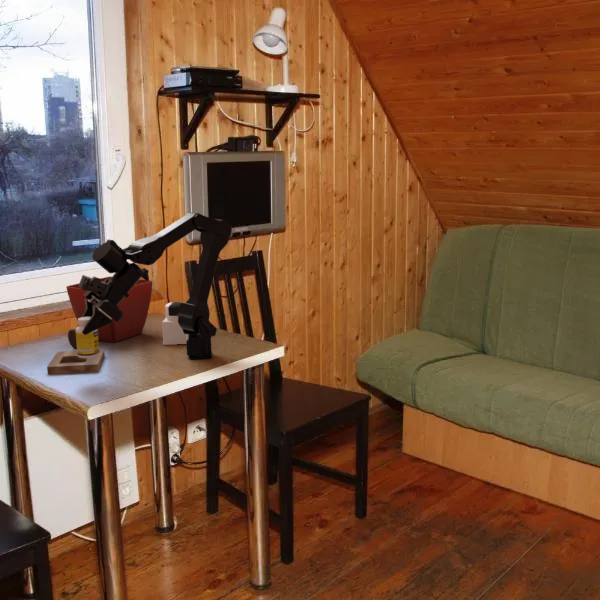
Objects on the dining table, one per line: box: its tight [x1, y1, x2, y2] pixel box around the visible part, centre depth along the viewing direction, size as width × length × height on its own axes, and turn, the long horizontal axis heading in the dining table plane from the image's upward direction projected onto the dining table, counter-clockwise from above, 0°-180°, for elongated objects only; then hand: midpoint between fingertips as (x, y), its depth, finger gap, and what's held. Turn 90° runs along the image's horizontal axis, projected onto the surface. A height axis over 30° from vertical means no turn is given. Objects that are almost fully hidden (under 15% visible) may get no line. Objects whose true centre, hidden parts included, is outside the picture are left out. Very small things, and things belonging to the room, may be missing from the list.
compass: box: [67, 328, 77, 351], centre depth 226 cm, size 8×8×7 cm
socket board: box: [46, 348, 106, 375], centre depth 212 cm, size 13×15×2 cm
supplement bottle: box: [75, 317, 100, 358], centre depth 195 cm, size 5×5×10 cm
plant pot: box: [66, 276, 153, 343], centre depth 240 cm, size 19×19×17 cm
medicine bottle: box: [161, 301, 188, 346], centre depth 233 cm, size 7×7×12 cm
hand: (81, 331), depth 194 cm, fingers closed on supplement bottle, 5 cm apart
